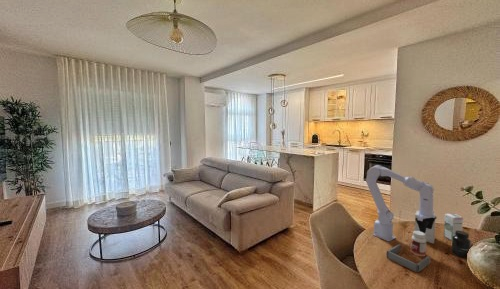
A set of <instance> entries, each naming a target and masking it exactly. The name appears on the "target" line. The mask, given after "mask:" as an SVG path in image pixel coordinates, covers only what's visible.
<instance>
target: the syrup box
mask: <svg viewBox="0 0 500 289" xmlns="http://www.w3.org/2000/svg"><path fill="white" fill-rule="evenodd" d="M463 222H464V218H463V216H460V215H458V214H455V213H452V212H451V213H444V227H443V228H444V230H443V231H444V233H443V237H445V238H447V239H448V240H450V241H452V238H453V236H454V235H455V233H456V231H463Z"/></svg>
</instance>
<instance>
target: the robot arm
mask: <svg viewBox="0 0 500 289" xmlns="http://www.w3.org/2000/svg"><path fill="white" fill-rule="evenodd" d="M379 177H389V178H391V179H393V180H396V181H399V182H401V183H403V185H404V186H405V187H407V188H409V189H411V190H414V191H416V192H418V193H419V198H418V199H419V200H418V201H419V204H418V206H419V209H418V211H419V216H418V218H415V217H414V221H415V220H416V222H417V224H418V226H419V230H420V232H423V233H425V232H426V228H428V229H432V226H433V223H434V221H435V222H436V219H437V216H436V215H435V216H434V214H435V212H434V195H433V194H434V189H435V188H434V187H433V185H431V184H430V183H428V182H425V181H421V180H418V179H416V178H415V177H414V176H404V175H401V174H400V173H398V172H396V171H393V170H391V169H390V168H387V167H385V166H382V165H381V164H380V165H379V164H375V165H374V166H372V167H370V168H369V169H368V170H367V171H366V179H365V183H366V185H367V188H368V190H369V192H370V195H371V196H372V198H373V201H374V203H375V206H376V208H377V216H378V217H377V218H378V219H376V220H375V221H374V224H373V234H372V235H373V236H375V237H377V238H379V239H382V240H384V241H387V242H392V241H393V240H395V239H396V238H397V237H396V236H394V235H393V233H394V223H393V219H394V213H393V212H392V211H391V210H390V208H389V207H388V206H387V204H386V202H385V200H384V197H383V194H382V193H381V191H380V188H379V186H378V183H377V180H378V179H379Z"/></svg>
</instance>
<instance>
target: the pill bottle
mask: <svg viewBox="0 0 500 289" xmlns="http://www.w3.org/2000/svg"><path fill="white" fill-rule="evenodd" d="M410 238H411V239H410V240H411V242H410V244H411V245H410V252H411V253H412V254H413V255H415V256H417V257H425V256H426V255H427V254H426V253H427V242H426V239H425V233H423V232H420V231H415V230H413V232H412V236H411V237H410Z"/></svg>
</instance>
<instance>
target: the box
mask: <svg viewBox="0 0 500 289" xmlns="http://www.w3.org/2000/svg"><path fill="white" fill-rule="evenodd" d="M401 251H402V244H400V243H399V244H397V245H395V246H393V247H392V248H390V249H387V250H386V258H387V259H389V260H390V261H392V262H395V263H396V264H399V265H401V266H402V267H405V268H406V269H409V270H410V271H411V270H412V271H413V272H415V273H417V274H418V273H420V272H421V271H422V270H424V269H425V268H426V267H427V266H429V265H430V264H431V256H430V255H427V256H426V257H424V258H423V259H422V260H420V261H419V262H418V263H416V262H413V261H412V260H409V259H406V258H405V257H403V256H400V255H398V253H400V252H401Z"/></svg>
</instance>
